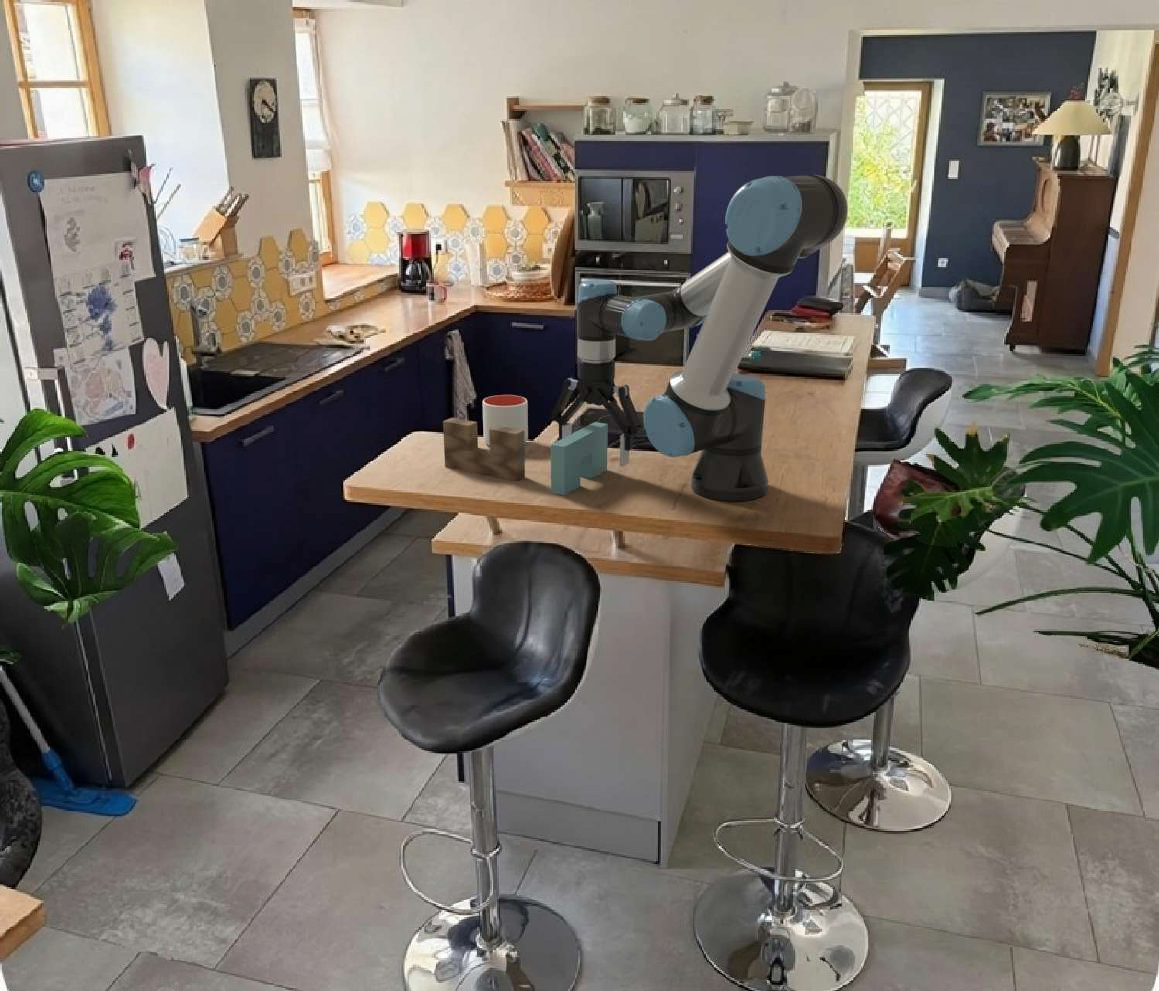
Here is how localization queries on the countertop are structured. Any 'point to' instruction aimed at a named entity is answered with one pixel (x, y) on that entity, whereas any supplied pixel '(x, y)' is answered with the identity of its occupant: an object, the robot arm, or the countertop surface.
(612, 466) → the countertop surface
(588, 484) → the countertop surface
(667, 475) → the countertop surface
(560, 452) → the teal arch piece
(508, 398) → the cup
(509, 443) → the u-notched wood block
